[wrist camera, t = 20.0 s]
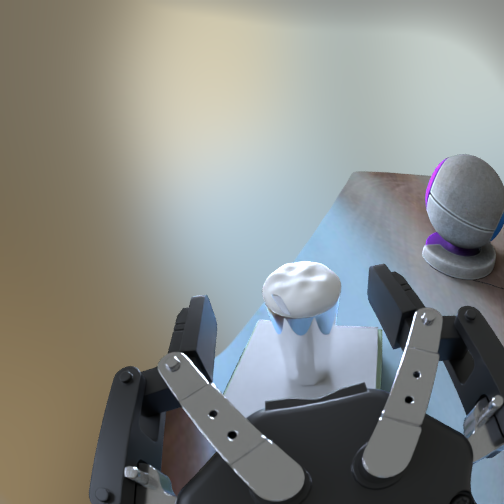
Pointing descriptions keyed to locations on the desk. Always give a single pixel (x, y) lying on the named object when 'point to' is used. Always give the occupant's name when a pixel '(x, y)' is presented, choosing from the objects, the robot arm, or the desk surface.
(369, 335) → the scale
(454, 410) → the desk surface
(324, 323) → the milkshake
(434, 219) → the webcam
